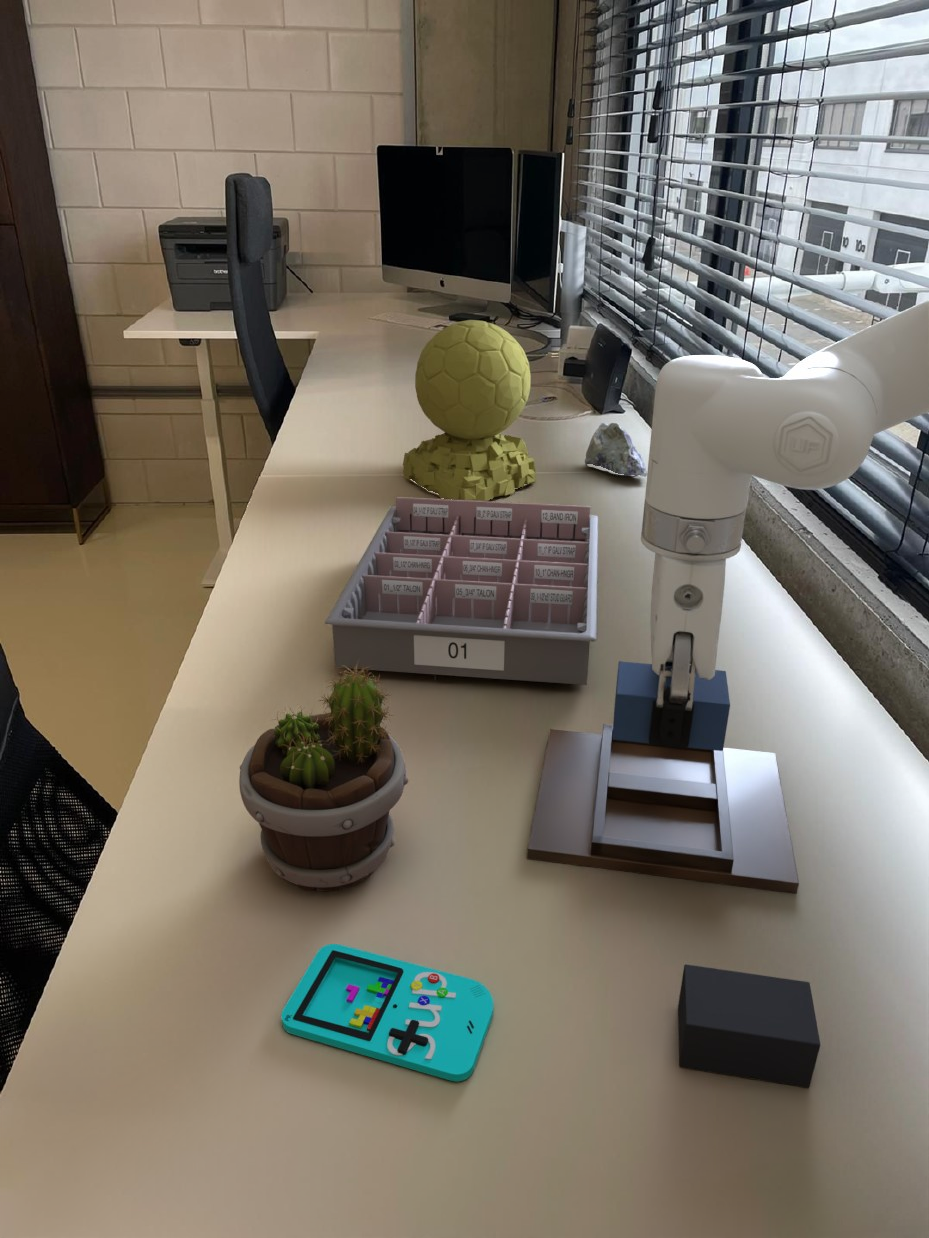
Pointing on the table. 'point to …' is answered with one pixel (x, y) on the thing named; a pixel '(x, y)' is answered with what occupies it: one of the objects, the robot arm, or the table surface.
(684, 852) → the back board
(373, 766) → the flowerpot
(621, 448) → the mineral rock
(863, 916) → the table surface
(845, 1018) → the table surface
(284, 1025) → the handheld gaming console
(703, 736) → the blue block
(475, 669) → the organizer tray
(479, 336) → the trophy
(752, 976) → the black rectangular block
